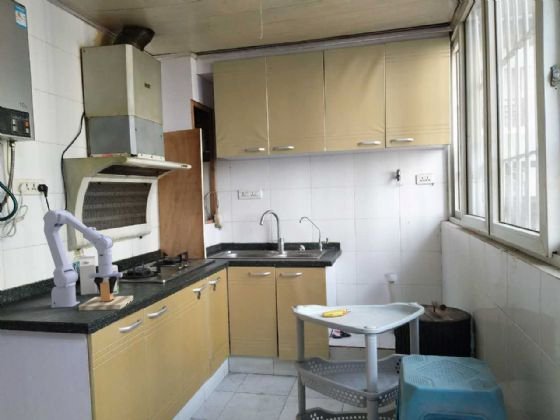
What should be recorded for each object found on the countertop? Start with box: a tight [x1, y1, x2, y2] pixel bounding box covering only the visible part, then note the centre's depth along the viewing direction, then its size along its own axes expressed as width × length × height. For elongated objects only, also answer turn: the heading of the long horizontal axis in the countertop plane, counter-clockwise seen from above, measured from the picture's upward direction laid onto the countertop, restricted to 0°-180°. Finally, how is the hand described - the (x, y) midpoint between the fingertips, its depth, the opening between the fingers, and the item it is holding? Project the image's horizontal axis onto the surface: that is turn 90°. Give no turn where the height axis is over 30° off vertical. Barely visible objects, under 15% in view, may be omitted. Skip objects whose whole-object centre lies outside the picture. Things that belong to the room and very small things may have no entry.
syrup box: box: [103, 264, 120, 296], centre depth 209 cm, size 6×6×14 cm
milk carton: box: [79, 255, 98, 296], centre depth 212 cm, size 7×7×19 cm
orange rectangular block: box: [100, 281, 114, 301], centre depth 187 cm, size 4×4×8 cm
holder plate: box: [78, 295, 134, 312], centre depth 187 cm, size 18×16×2 cm
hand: (106, 293), depth 187 cm, fingers closed on orange rectangular block, 4 cm apart
